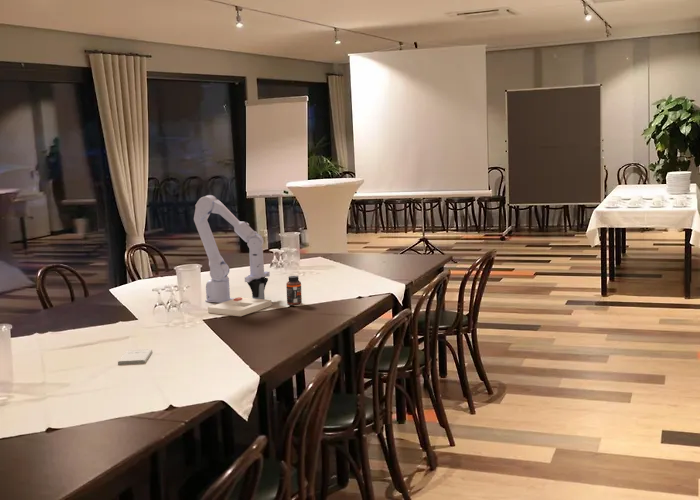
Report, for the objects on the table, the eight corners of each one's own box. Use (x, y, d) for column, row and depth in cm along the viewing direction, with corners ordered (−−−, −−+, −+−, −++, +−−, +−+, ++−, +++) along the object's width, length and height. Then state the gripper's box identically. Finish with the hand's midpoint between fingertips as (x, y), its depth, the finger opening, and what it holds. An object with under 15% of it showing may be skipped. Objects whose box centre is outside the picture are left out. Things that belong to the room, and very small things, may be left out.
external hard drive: (118, 366, 236) (126, 354, 248) (145, 365, 236) (152, 353, 249) (117, 361, 236) (126, 349, 248) (144, 359, 236) (152, 348, 248)
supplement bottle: (299, 305, 309) (298, 277, 307) (285, 305, 310) (284, 277, 308) (303, 302, 314) (302, 275, 313) (289, 302, 316) (288, 275, 314)
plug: (252, 300, 321) (251, 282, 320) (256, 299, 323) (256, 280, 322) (260, 301, 319) (259, 282, 318) (264, 299, 321) (263, 281, 320)
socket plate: (208, 312, 302) (207, 305, 301) (240, 302, 319) (239, 295, 318) (240, 316, 294) (240, 308, 293) (271, 305, 311) (271, 298, 310)
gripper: (253, 267, 311) (255, 300, 313) (275, 261, 323) (276, 293, 325) (239, 266, 314) (241, 299, 316) (261, 260, 327) (262, 292, 329)
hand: (258, 296), depth 321 cm, fingers closed on plug, 3 cm apart
